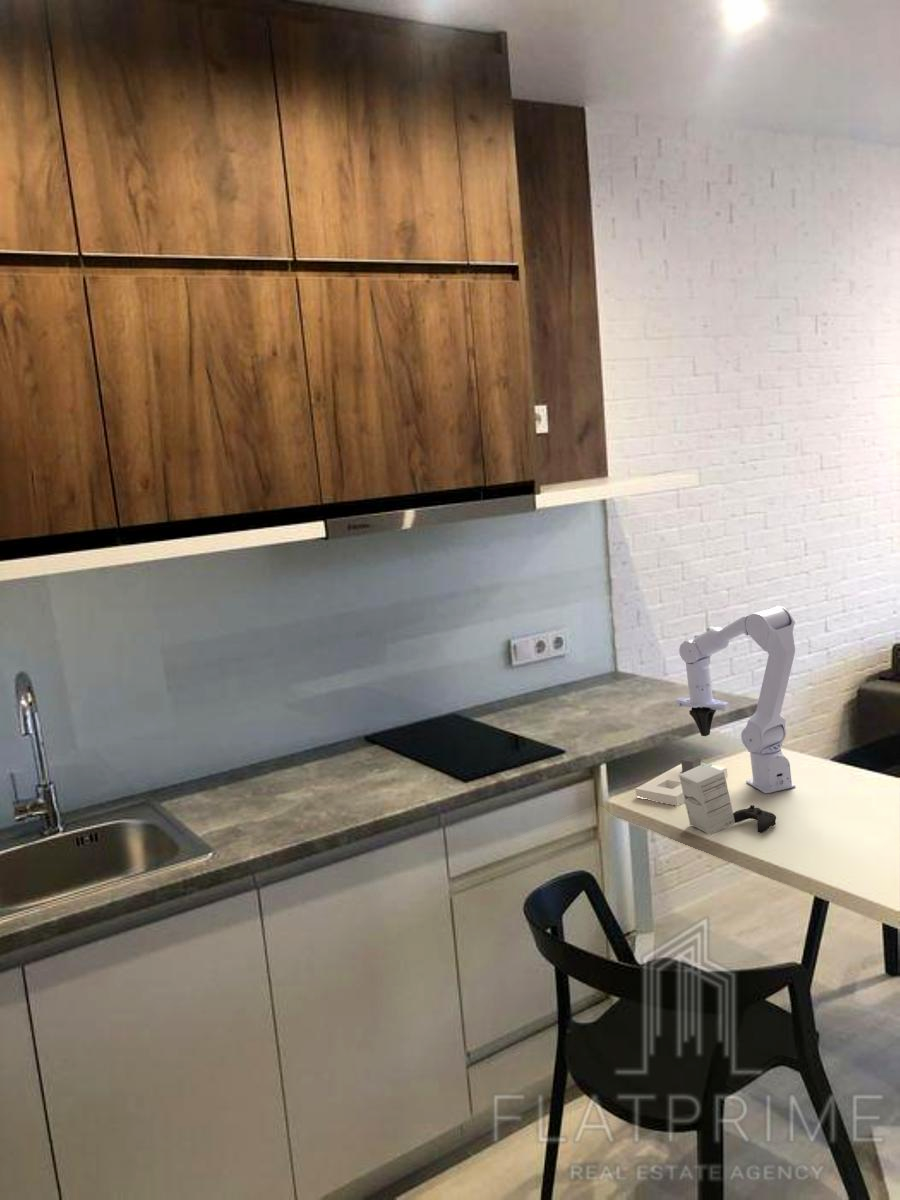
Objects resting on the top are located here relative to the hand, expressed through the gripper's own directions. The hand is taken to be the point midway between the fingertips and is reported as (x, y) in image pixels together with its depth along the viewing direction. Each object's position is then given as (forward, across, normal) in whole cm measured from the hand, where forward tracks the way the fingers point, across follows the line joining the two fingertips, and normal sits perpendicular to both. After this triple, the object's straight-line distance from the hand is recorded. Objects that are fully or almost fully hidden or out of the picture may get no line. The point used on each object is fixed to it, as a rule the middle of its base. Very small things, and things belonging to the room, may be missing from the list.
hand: (705, 735), depth 241 cm
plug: (+10, +1, -9) cm, 13 cm away
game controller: (+9, +28, -27) cm, 40 cm away
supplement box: (+9, +20, -31) cm, 38 cm away
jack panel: (+9, +1, -14) cm, 16 cm away
